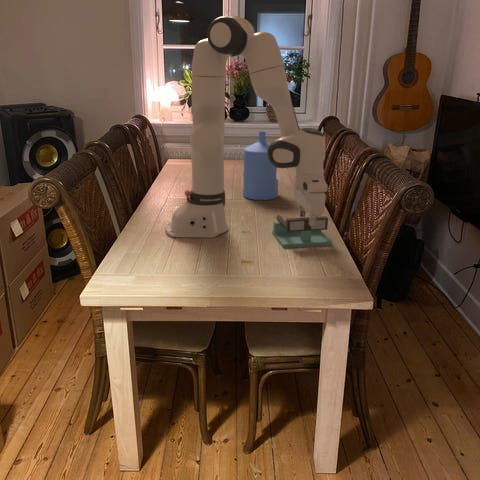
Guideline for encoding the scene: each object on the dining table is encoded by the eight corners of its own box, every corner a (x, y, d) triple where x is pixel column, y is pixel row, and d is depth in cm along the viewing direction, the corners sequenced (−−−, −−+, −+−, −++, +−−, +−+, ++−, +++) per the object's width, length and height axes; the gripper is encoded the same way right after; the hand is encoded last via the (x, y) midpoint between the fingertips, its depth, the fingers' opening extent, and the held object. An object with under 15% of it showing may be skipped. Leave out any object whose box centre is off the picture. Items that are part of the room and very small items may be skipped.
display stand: (283, 247, 167) (283, 233, 165) (272, 233, 180) (272, 220, 178) (331, 244, 171) (332, 230, 169) (317, 231, 183) (318, 218, 181)
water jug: (258, 203, 215) (260, 136, 204) (235, 194, 226) (236, 131, 216) (285, 197, 224) (288, 133, 214) (261, 189, 235) (263, 128, 225)
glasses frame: (287, 231, 167) (287, 220, 166) (276, 219, 179) (276, 208, 178) (327, 229, 170) (328, 218, 168) (314, 217, 182) (314, 206, 180)
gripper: (290, 172, 172) (288, 211, 177) (310, 188, 153) (307, 231, 158) (308, 172, 173) (305, 210, 178) (329, 187, 155) (326, 230, 160)
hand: (306, 220), depth 168 cm, fingers open, 8 cm apart
